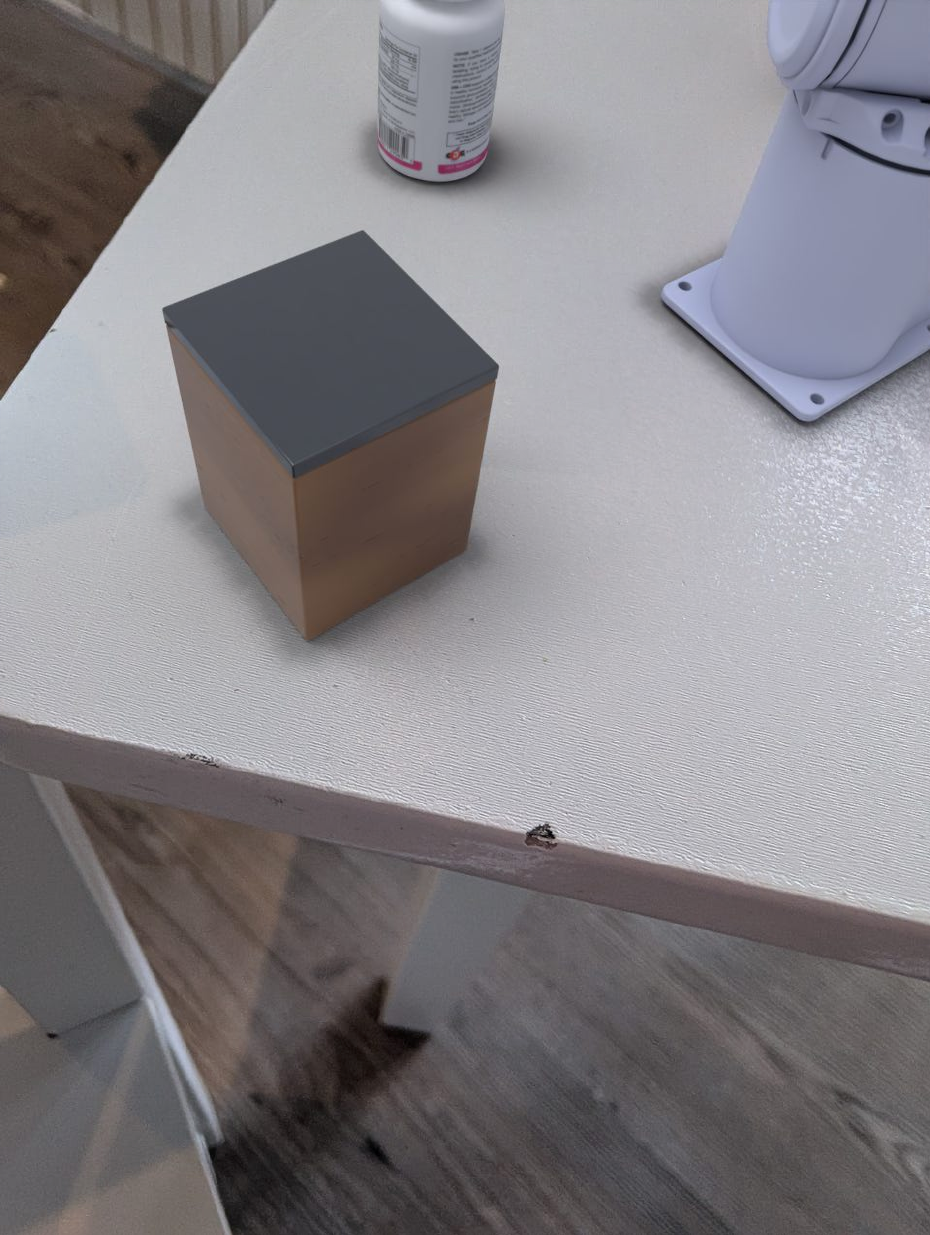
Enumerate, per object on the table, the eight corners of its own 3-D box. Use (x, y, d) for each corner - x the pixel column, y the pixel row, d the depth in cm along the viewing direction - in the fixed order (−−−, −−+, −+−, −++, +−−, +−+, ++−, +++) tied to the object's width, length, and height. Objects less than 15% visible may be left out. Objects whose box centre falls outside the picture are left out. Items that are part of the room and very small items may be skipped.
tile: (362, 244, 26) (363, 228, 26) (497, 379, 24) (500, 365, 24) (164, 322, 24) (160, 307, 24) (293, 480, 22) (292, 466, 22)
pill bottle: (486, 123, 43) (513, -94, 36) (487, 190, 40) (517, -29, 33) (378, 113, 42) (384, -109, 35) (373, 180, 40) (378, -44, 33)
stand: (360, 430, 33) (362, 244, 26) (467, 551, 31) (497, 379, 24) (203, 507, 30) (164, 322, 24) (306, 643, 28) (293, 480, 22)
